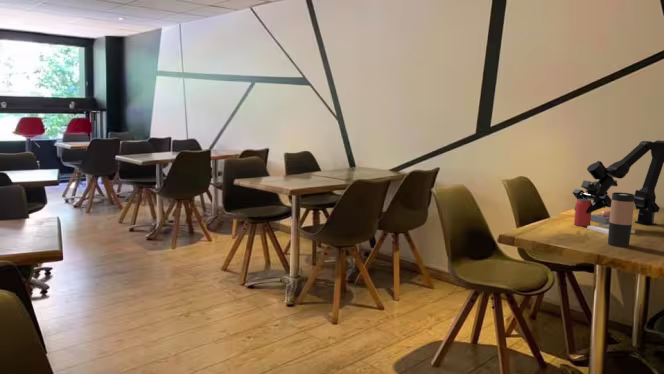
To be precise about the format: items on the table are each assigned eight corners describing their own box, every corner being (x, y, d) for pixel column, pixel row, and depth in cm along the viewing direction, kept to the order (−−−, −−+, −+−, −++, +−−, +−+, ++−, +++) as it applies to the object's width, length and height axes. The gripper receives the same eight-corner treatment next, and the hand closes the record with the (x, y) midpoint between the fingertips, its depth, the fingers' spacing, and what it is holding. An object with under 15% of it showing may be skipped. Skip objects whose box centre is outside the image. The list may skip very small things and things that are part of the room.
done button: (605, 217, 242) (606, 210, 241) (612, 219, 238) (613, 211, 237) (598, 218, 240) (599, 210, 240) (605, 219, 236) (606, 212, 236)
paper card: (611, 226, 229) (611, 224, 229) (634, 232, 218) (635, 230, 217) (587, 228, 224) (587, 225, 224) (609, 234, 213) (610, 232, 213)
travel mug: (602, 242, 200) (607, 192, 197) (621, 242, 201) (626, 192, 198) (615, 247, 192) (620, 195, 190) (634, 247, 193) (639, 195, 190)
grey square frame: (604, 219, 245) (605, 213, 244) (620, 223, 236) (621, 217, 236) (590, 220, 242) (590, 214, 242) (605, 224, 234) (606, 218, 233)
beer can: (591, 227, 227) (594, 201, 225) (576, 226, 228) (578, 200, 227) (587, 224, 233) (590, 198, 232) (572, 223, 235) (574, 198, 233)
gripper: (577, 172, 238) (556, 196, 236) (610, 177, 220) (588, 202, 218) (589, 188, 241) (568, 212, 239) (622, 194, 224) (600, 219, 222)
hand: (580, 211), depth 230 cm, fingers closed on beer can, 7 cm apart
